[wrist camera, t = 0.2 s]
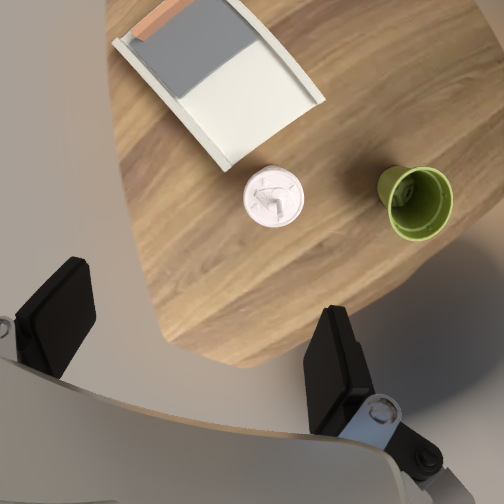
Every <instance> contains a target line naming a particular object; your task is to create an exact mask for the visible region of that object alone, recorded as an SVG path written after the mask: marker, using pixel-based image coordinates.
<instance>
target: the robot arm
mask: <svg viewBox="0 0 504 504" xmlns="http://www.w3.org/2000/svg"><path fill="white" fill-rule="evenodd" d="M15 316H16V319H15V320H14V321H13V320H12V319H11V318H9V317H6V316H0V504H475V500H474V498H473V496H472V495H471V493H470V492H469V491H468V490H467V489H466V488H465V486H464V485H463V484H462V483H461V482H460V481H459V480H458V479H457V477H456V476H455V475H454V474H453V473H452V472H451V470H450V469H449V468H448V467H447V468H446V469H444V467H443V466H442V465H443V456H442V453H441V451H440V450H439V448H438V447H437V446H435V445H434V444H433V443H431V442H430V441H428V440H427V439H425V438H424V437H422V436H421V435H419V434H418V433H416V432H415V431H413V430H412V429H410V428H409V427H408V426H406V425H405V424H403V423H402V422H400V419H401V410H400V407H399V405H398V404H397V403H396V402H395V401H394V400H393V399H392V398H390V397H388V396H386V395H382V394H375V391H374V387H373V384H372V380H371V377H370V374H369V370H368V367H367V364H366V360H365V357H364V354H363V351H362V348H361V345H360V343H359V342H356V340H355V336H354V333H353V330H352V327H351V324H350V321H349V318H348V315H347V312H346V309H345V307H342V306H335V305H330V306H329V307H328V308H324V309H323V312H322V314H321V317H320V319H319V322H318V324H317V327H316V329H315V332H314V334H313V337H312V339H311V342H310V344H309V347H308V349H307V351H306V353H305V356H304V360H303V366H304V375H305V386H306V396H307V406H308V418H309V430H310V434H314V435H310V434H296V433H284V432H274V431H264V430H255V429H247V428H239V427H232V426H225V425H219V424H213V423H207V422H202V421H197V420H192V419H187V418H183V417H178V416H173V415H169V414H165V413H161V412H157V411H153V410H149V409H145V408H141V407H138V406H134V405H131V404H127V403H124V402H120V401H117V400H114V399H111V398H108V397H105V396H102V395H99V394H96V393H93V392H90V391H87V390H85V389H82V388H79V387H76V386H74V385H71V384H69V383H66V382H64V381H61V380H59V379H60V378H61V377H62V375H63V373H64V371H65V370H66V368H67V366H68V365H69V363H70V361H71V360H72V358H73V356H74V355H75V353H76V352H77V350H78V348H79V347H80V345H81V344H82V342H83V340H84V339H85V337H86V336H87V334H88V332H89V331H90V329H91V328H92V326H93V325H94V323H95V321H96V311H95V305H94V299H93V292H92V285H91V277H90V269H89V265H88V264H87V263H86V261H85V259H82V258H78V257H70V258H69V259H68V260H67V261H66V262H65V263H64V264H63V265H62V266H61V267H60V268H59V269H58V270H57V271H56V272H55V273H54V274H53V275H52V276H51V277H50V278H49V279H48V280H47V281H46V282H45V283H44V284H43V285H42V286H41V287H40V288H39V289H38V290H37V291H36V293H34V294H33V296H31V298H30V299H29V300H28V301H27V302H26V303H25V304H24V305H23V306H22V307H21V308H20V309H19V311H18V312H17V313H16V314H15Z"/></svg>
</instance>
